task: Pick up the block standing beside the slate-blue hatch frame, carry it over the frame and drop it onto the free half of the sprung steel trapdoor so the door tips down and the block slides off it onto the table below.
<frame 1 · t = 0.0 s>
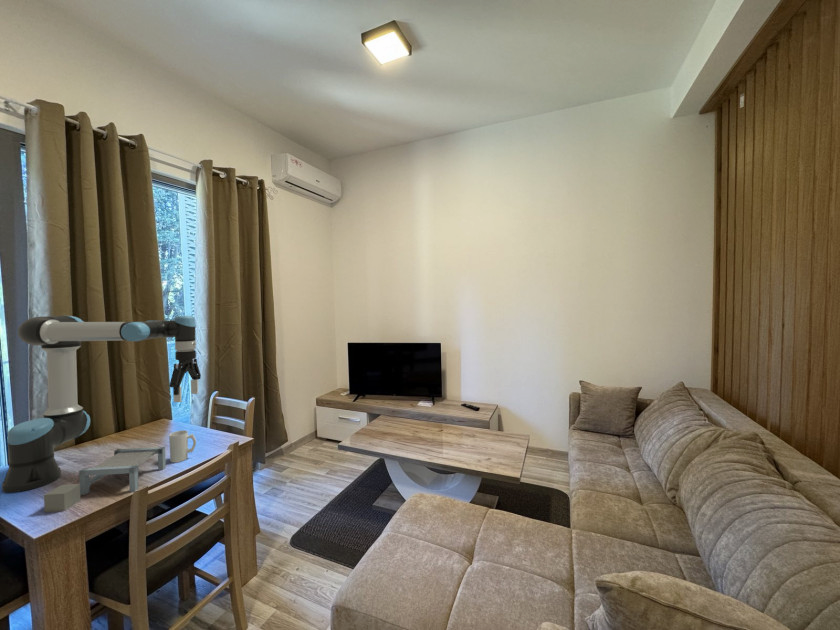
hand: (186, 397, 150), 28 cm above the table, fingers open, 13 cm apart
trapdoor: (125, 460, 132), point 8 cm above the table, hinge at 0.3°, touching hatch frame
stone: (62, 506, 116), on the table
mug: (183, 459, 151), on the table
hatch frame: (126, 480, 133), on the table
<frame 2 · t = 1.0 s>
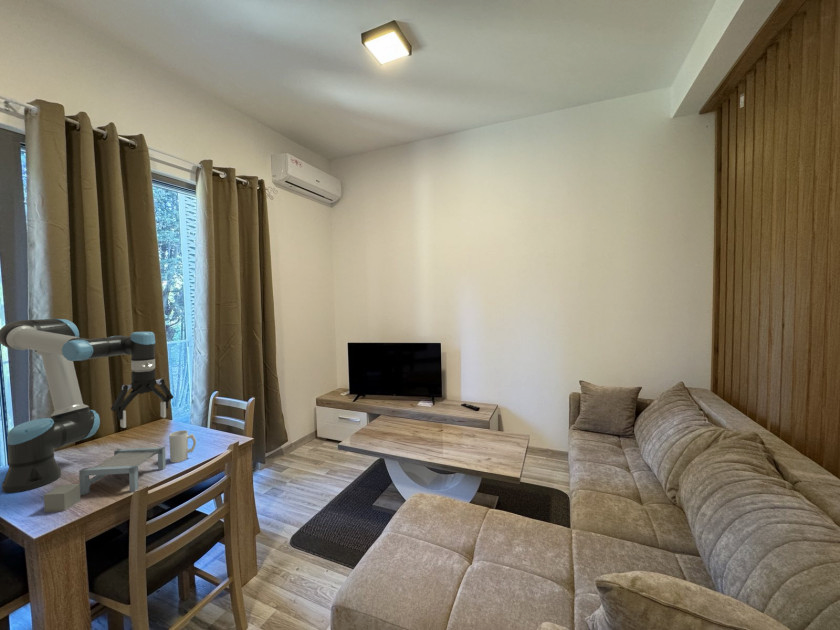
hand: (144, 421, 136), 22 cm above the table, fingers open, 13 cm apart
trapdoor: (125, 460, 132), point 8 cm above the table, hinge at 1.5°, touching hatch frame
everything else where it was.
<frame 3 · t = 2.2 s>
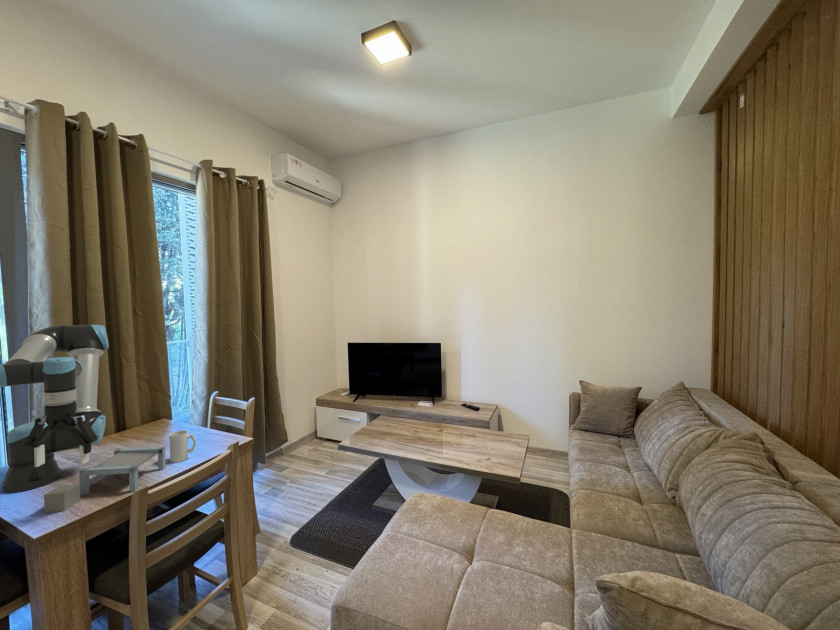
hand: (62, 464, 115), 15 cm above the table, fingers open, 13 cm apart
trapdoor: (125, 461, 132), point 8 cm above the table, hinge at 3.1°, touching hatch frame
everything else where it was.
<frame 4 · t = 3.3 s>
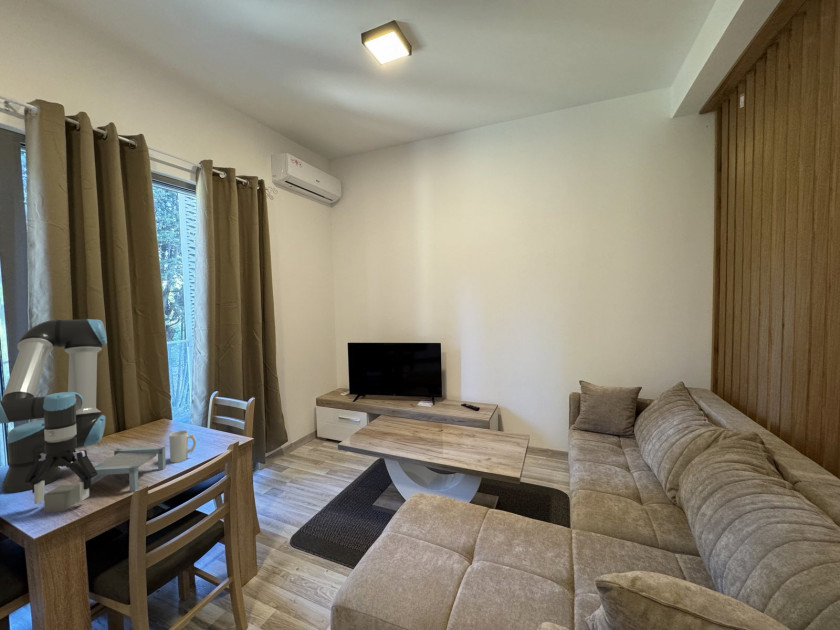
hand: (62, 500, 115), 2 cm above the table, fingers open, 13 cm apart
trapdoor: (125, 461, 132), point 7 cm above the table, hinge at 4.5°, touching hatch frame
everything else where it was.
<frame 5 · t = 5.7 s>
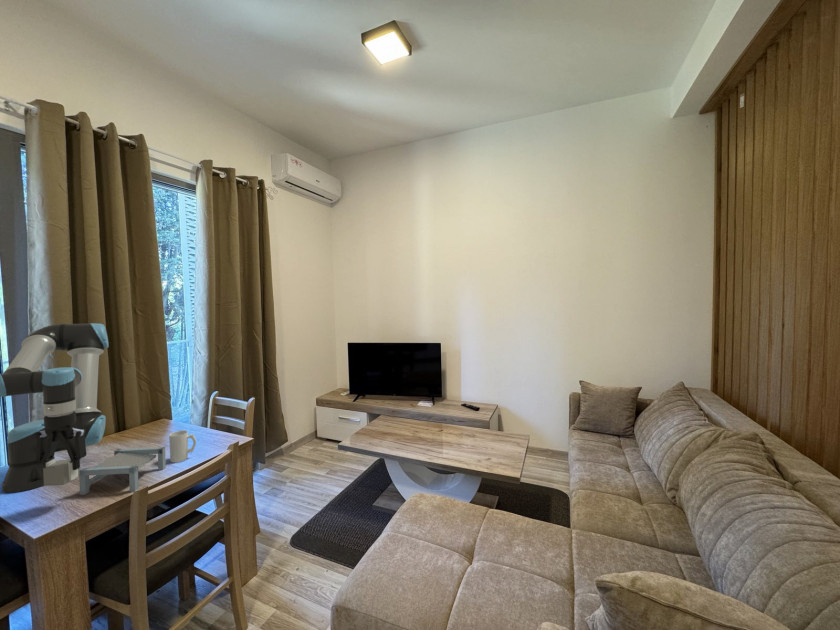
hand: (62, 478, 116), 9 cm above the table, fingers closed on stone, 6 cm apart
trapdoor: (125, 462, 132), point 7 cm above the table, hinge at 7.4°, touching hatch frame
stone: (62, 480, 116), point 9 cm above the table, touching gripper
everything else where it was.
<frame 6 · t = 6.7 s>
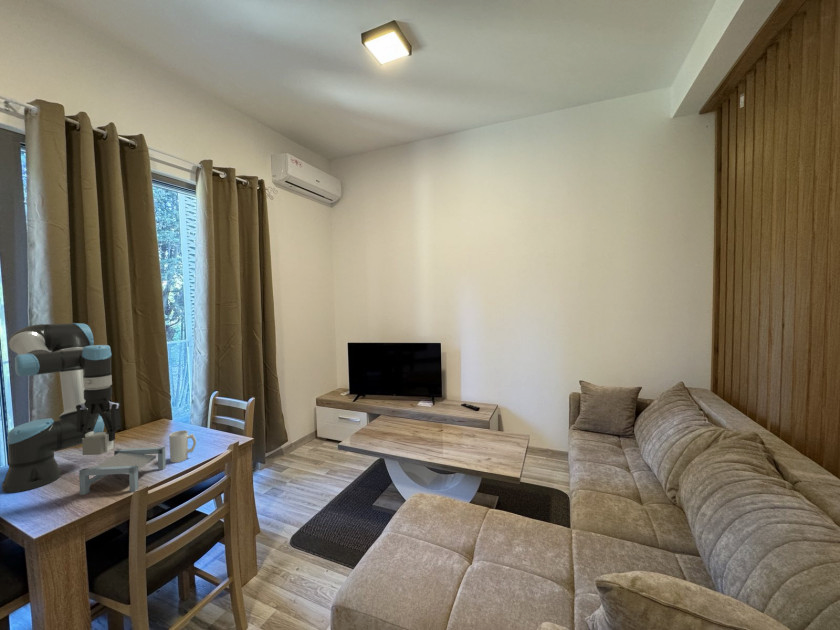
hand: (99, 449, 123), 16 cm above the table, fingers closed on stone, 6 cm apart
trapdoor: (125, 463, 132), point 7 cm above the table, hinge at 8.5°, touching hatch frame
stone: (99, 451, 123), point 16 cm above the table, touching gripper
everything else where it was.
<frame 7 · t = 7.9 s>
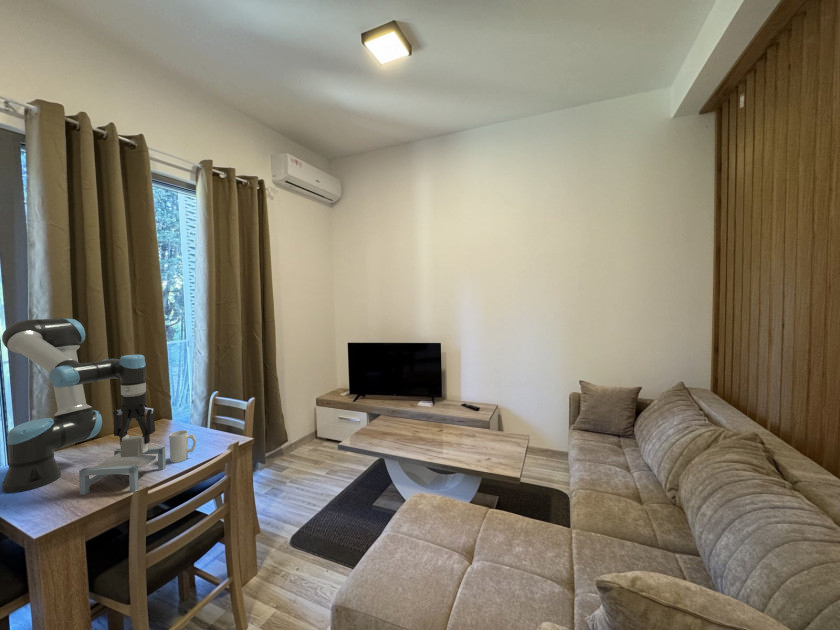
hand: (135, 452, 133), 11 cm above the table, fingers closed on stone, 6 cm apart
trapdoor: (125, 463, 132), point 7 cm above the table, hinge at 9.4°, touching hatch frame
stone: (134, 453, 133), point 11 cm above the table, touching gripper
everything else where it was.
when the fingers open (10 cm above the table, at t = 8.7 s): stone drops 6 cm and tips over, point 3 cm above the table.
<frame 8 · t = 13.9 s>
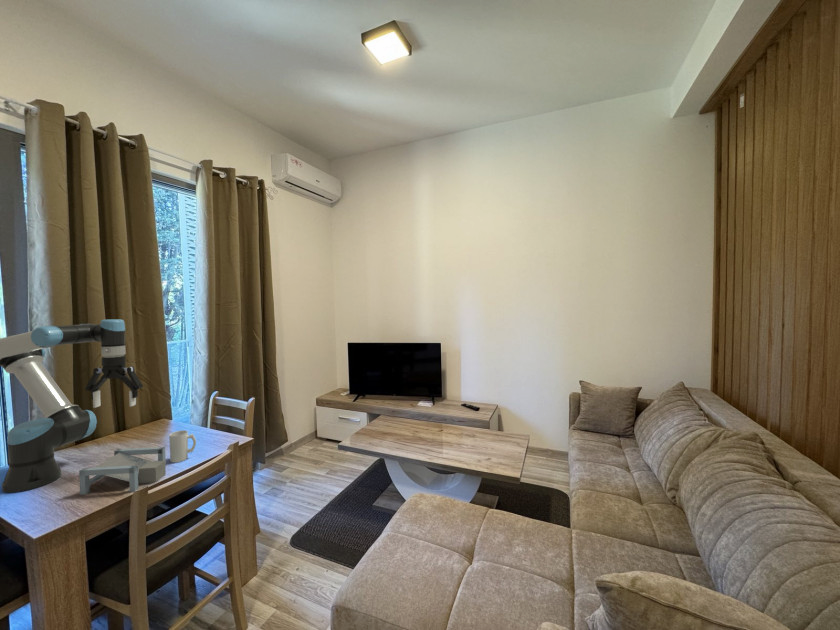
hand: (115, 406, 141), 27 cm above the table, fingers open, 13 cm apart
trapdoor: (124, 466, 132), point 6 cm above the table, hinge at 20.1°, touching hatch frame
stone: (144, 472, 133), point 3 cm above the table, tilted 90°
everything else where it was.
at the end: stone point 2.9 cm above the table; stone inside the target area (0.4 cm from its centre), point 2.9 cm above the table; the gripper is holding nothing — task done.
